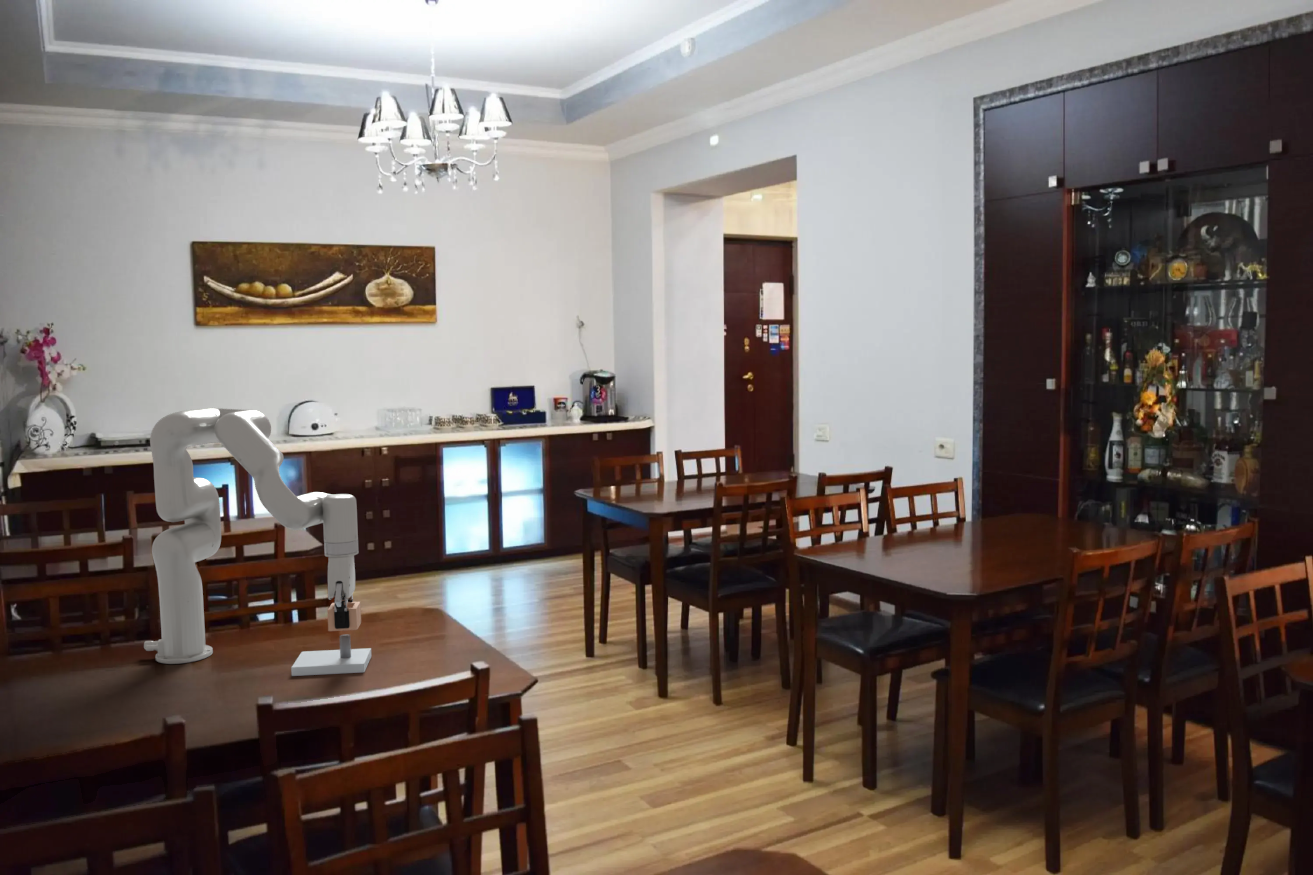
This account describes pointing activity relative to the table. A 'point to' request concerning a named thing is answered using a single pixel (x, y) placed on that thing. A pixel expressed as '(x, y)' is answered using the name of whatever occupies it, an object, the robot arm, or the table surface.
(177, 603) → the robot arm
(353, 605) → the collar
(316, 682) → the table surface
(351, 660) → the post plate
